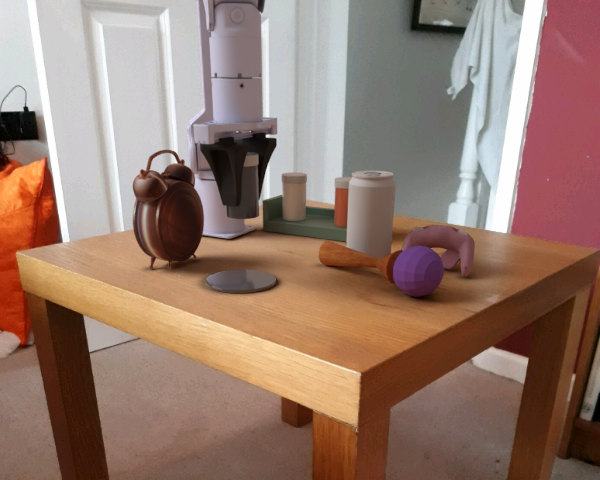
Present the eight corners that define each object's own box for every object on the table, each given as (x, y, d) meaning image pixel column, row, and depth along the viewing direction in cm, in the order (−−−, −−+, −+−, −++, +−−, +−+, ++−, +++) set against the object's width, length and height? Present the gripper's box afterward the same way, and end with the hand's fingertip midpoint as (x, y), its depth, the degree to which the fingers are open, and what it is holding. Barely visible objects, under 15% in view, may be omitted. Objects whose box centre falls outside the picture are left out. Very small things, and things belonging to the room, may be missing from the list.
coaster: (191, 286, 80) (191, 283, 80) (231, 268, 87) (231, 266, 87) (251, 297, 76) (251, 294, 76) (288, 278, 83) (288, 275, 83)
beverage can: (389, 255, 94) (395, 169, 88) (390, 267, 88) (397, 176, 82) (346, 253, 94) (349, 168, 89) (345, 265, 89) (348, 175, 83)
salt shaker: (277, 219, 107) (276, 174, 104) (289, 215, 110) (289, 171, 107) (298, 222, 105) (299, 176, 102) (310, 217, 108) (311, 173, 105)
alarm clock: (182, 253, 94) (173, 145, 87) (209, 257, 92) (202, 147, 85) (134, 272, 85) (120, 153, 78) (163, 277, 83) (151, 155, 76)
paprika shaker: (328, 226, 103) (330, 179, 99) (340, 221, 106) (341, 176, 103) (352, 228, 101) (354, 181, 98) (363, 223, 104) (365, 178, 101)
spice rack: (263, 230, 107) (262, 200, 105) (289, 220, 114) (289, 192, 112) (360, 243, 100) (361, 211, 98) (381, 232, 107) (383, 201, 105)
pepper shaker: (219, 217, 78) (215, 154, 74) (238, 211, 81) (235, 151, 77) (248, 220, 76) (246, 156, 72) (266, 214, 79) (265, 153, 76)
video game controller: (471, 282, 87) (479, 231, 87) (469, 276, 82) (478, 222, 82) (399, 275, 90) (407, 226, 89) (395, 268, 85) (403, 217, 85)
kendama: (346, 232, 89) (458, 250, 74) (341, 275, 91) (449, 300, 76) (313, 229, 86) (424, 247, 71) (308, 274, 87) (415, 301, 73)
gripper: (229, 79, 64) (235, 216, 70) (298, 78, 75) (298, 196, 82) (174, 78, 67) (184, 210, 73) (248, 77, 78) (252, 191, 85)
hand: (241, 202), depth 78 cm, fingers closed on pepper shaker, 4 cm apart
